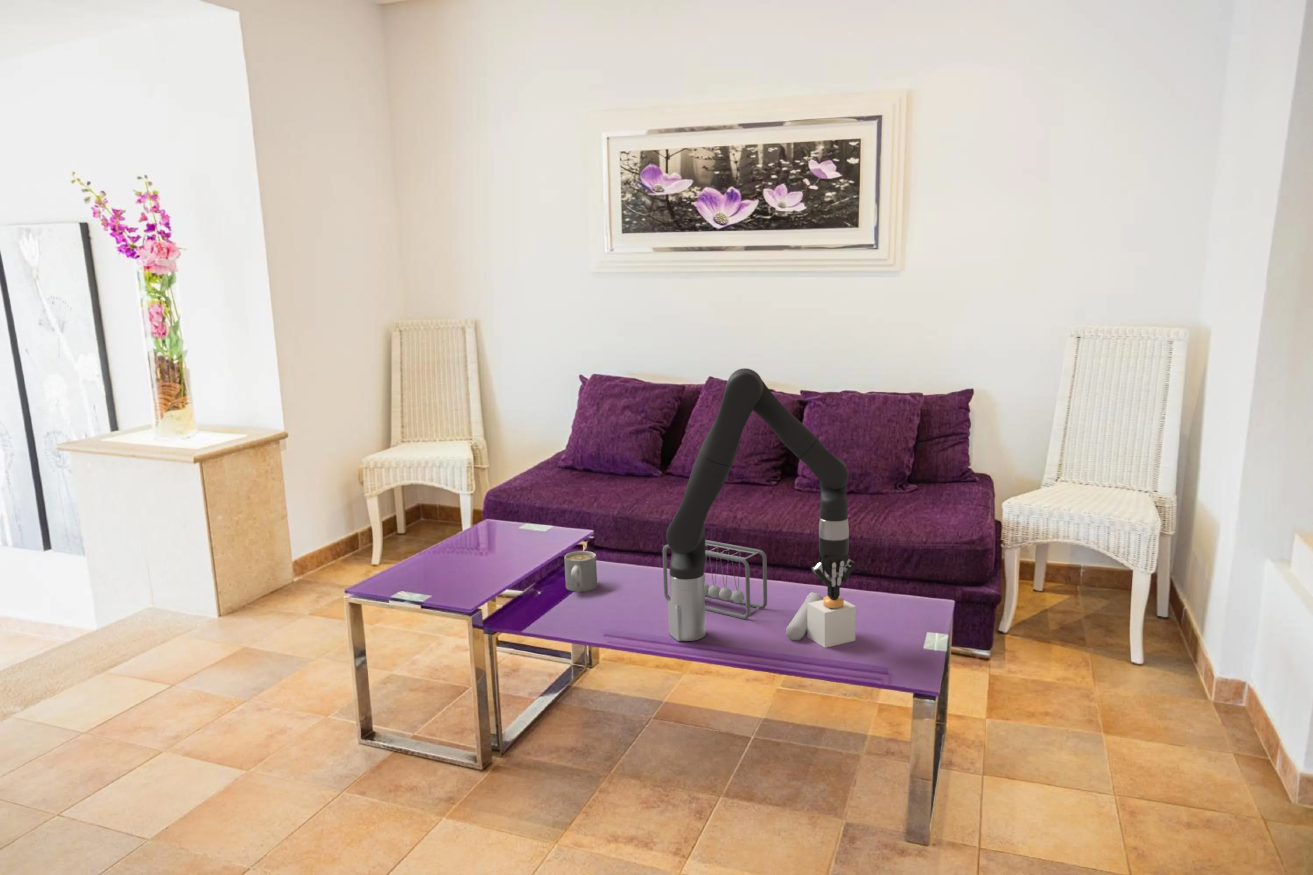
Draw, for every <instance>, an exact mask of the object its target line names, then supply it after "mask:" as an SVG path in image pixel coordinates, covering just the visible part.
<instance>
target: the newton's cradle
mask: <svg viewBox="0 0 1313 875" xmlns="http://www.w3.org/2000/svg"><path fill="white" fill-rule="evenodd" d="M705 546H706V548H708V546H711V547H714V548H712V549H711V550H707V549H705V560H707V559H708V558H707V557H709V559H711V558H716V559H719V560H720V561H722V560H727V561H731V564H732V565H731V566H732V567H734V563H733V562H736V563H738V565H739V566H738V571H740V567H741V565H740V564H741V563H742V564H743V565H744V567H745V568H744V569H745V574H744V575H745V595H744V591H742V590H740V589H738V588H740V587H739V585H740V584H739V582H740V577H738V582H737V581H736V580H734V585H735V590H733V591H732V590H731V589H730V588H729V587H727V586H726V585H727V584H728V583H727V582H728V576H726V577H725V578H726V579H725V578H724V577H722V580H723V583H725V584H723V587H722V588H720V587H719V585H717V584H715V583H716V582H717V581H716V579H717V575H715V579H714V578H713V577H714V576H713V574H711V577H712V578H711V579H712V580H714V581H712V585H709V584H708V583H707V582H705V579H706V575H704V592H705V597H706V598H707V597H708V598H712V599H716V600H721V601H725V602H729V603H733V604H737V605H742V606H745V614H740V613H737V612H736V613H735V612H732V611H728V610H723V609H719V608H715V607H712V606H711V607H710V606H706V605H705V611H707V612H708V611H709V612H713V613H716V614H721V615H724V616H728V617H729V616H730V617H731V618H738V619H741V620H747V619H748V618H749V617H750V615H751V613H754V612H755V611H757V610H758V609H759V610H763V609H765V608H766V607H767V606H768V572H767V571H768V568H767V567H768V566H767V564H768V563H767V562H768V560H767V559H768V558H767V555H766V553H765V552H764V551H763V550H761V549H758V548H752V547H747V546H741V545H735V544H730V543H725V542H724V543H723V542H719V541H714V540H708V539H705ZM716 548H722V549H726V550H732V551H737V552H736V553H734V554H730V553H728V554H726V553H723V551H722V552H719V551H717V552H716V551H714V550H715V549H716ZM668 549H670V548H669V546H668V544H665V545H664V546H663V548H662V569H663V570H662V572H663V595H664V598H665V599H666V600H667V602H668V601H669V600H671V597H670V594H669V588H668V559H667V558H668V557H667V550H668ZM712 550H713V551H712ZM737 553H739V554H741V553H748V554H750V555H748V556H746V557H741V556H737V555H735V554H737ZM758 554H760V555H761V557H762V594H763V595H762V598H763V599H762V600H763V601H762V604H758V603H754V602H751V593H750V592H751V589H750V588H751V583H750V582H751V580H750V579H751V578H750V577H751V576H750V572H751V570H750V565H749V564H750V563H749V562H748V561H747V559H749V558H751V557H753V556H755V555H758ZM709 564H710V566H712V562H711V560H709ZM720 566H721V568H723V565H722V562H720ZM726 566H727V569H726V573H728V571H729V569H728V568H729V564H727V565H726ZM715 567H716V568H715V571H717V568H718V563H716V565H715ZM706 568H707V563H705V564H704V572H707V571H706V570H707V569H706ZM734 570H735V569H734V568H732V572H733V573H735V571H734ZM710 572H711V573H713V570H712V567H710ZM721 572H722V576H724V572H723V570H721ZM733 576H734V579H736V576H735V574H733ZM751 608H754V609H753V610H751Z"/></svg>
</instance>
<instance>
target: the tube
mask: <svg viewBox="0 0 1313 875" xmlns="http://www.w3.org/2000/svg"><path fill="white" fill-rule="evenodd" d="M823 598H824V597H823V596H822V595H821V594H819V592H809V594H808V595H807V596H806V597H805V600H804V602H803V603H802V605H801V606H800V607H799V609H798V611H796V613H795V615H794V617H792V619H791V621H790V622H789V624H788V625H787V627H786V628H785V630H786V636H787V637H788V638H789V639H790V640H791V641H801V640H802V638H803V637H804V636H805V634H806V632H807V603H810V602H815V601H820V600H823Z"/></svg>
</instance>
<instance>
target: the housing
mask: <svg viewBox="0 0 1313 875" xmlns="http://www.w3.org/2000/svg"><path fill="white" fill-rule="evenodd" d="M856 609H857V608H856V605H854V604H852V603H850V602H849V601H847V600H844V605H843V606H842V607H840V608H838V609H833V610H831V609H829V608H828V607H826V606H824V604H823V600H820V601H815V602H810V603H807V631H806V632H807V634H806V635H807V637H806V638H809V639H810V640H811V641H813V642H815V643H816V644H818V645H819V646H821V647H823V648H825V649H826V648H830V647H834V646H838V645H842V644H847V643H851V642H855V641H856V621H857V620H856V617H857V616H856V614H857V613H856V612H857V610H856Z"/></svg>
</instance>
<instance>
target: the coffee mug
mask: <svg viewBox="0 0 1313 875" xmlns="http://www.w3.org/2000/svg"><path fill="white" fill-rule="evenodd" d="M563 562H564V576H565V578H564V579H565V589H566V590H567V591H570V592H578V593H579V592H588V591H591V590H594V589H596V588H597V587H598V572H597V571H598V568H597V556H596V553H595V552H592V551H588V550H578V551H572V552H568V553H566V554H565V555H564V561H563Z"/></svg>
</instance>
